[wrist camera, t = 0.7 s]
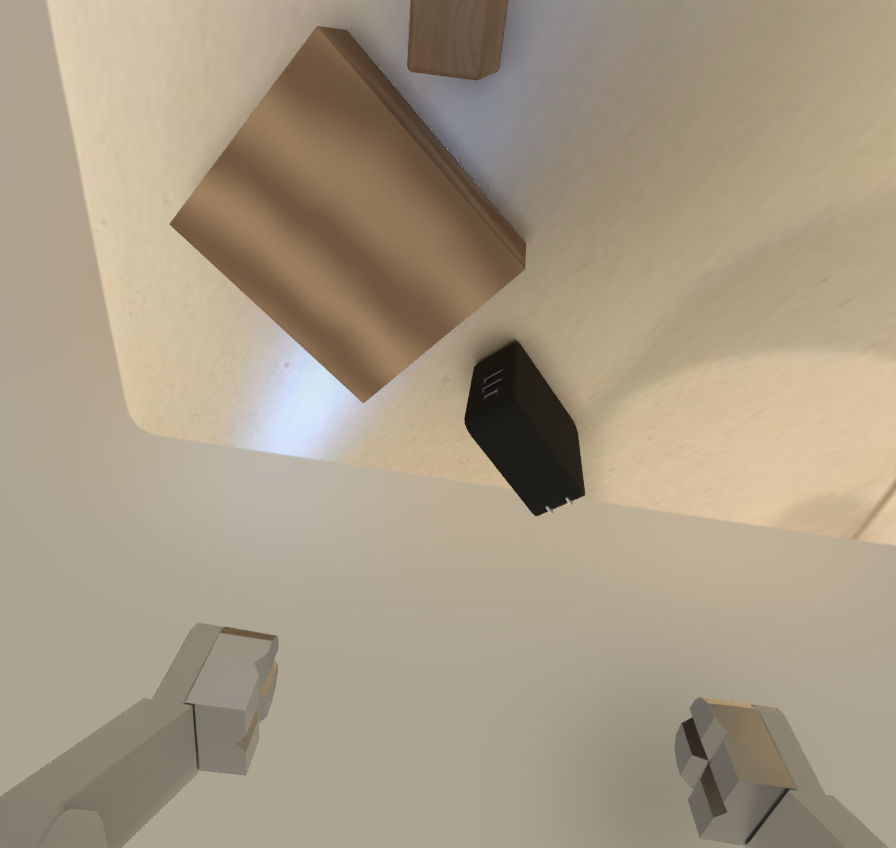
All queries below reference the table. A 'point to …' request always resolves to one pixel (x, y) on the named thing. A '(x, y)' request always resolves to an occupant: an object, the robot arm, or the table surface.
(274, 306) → the walnut box
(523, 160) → the table surface
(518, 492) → the electronic device
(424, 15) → the wooden block
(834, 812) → the robot arm
